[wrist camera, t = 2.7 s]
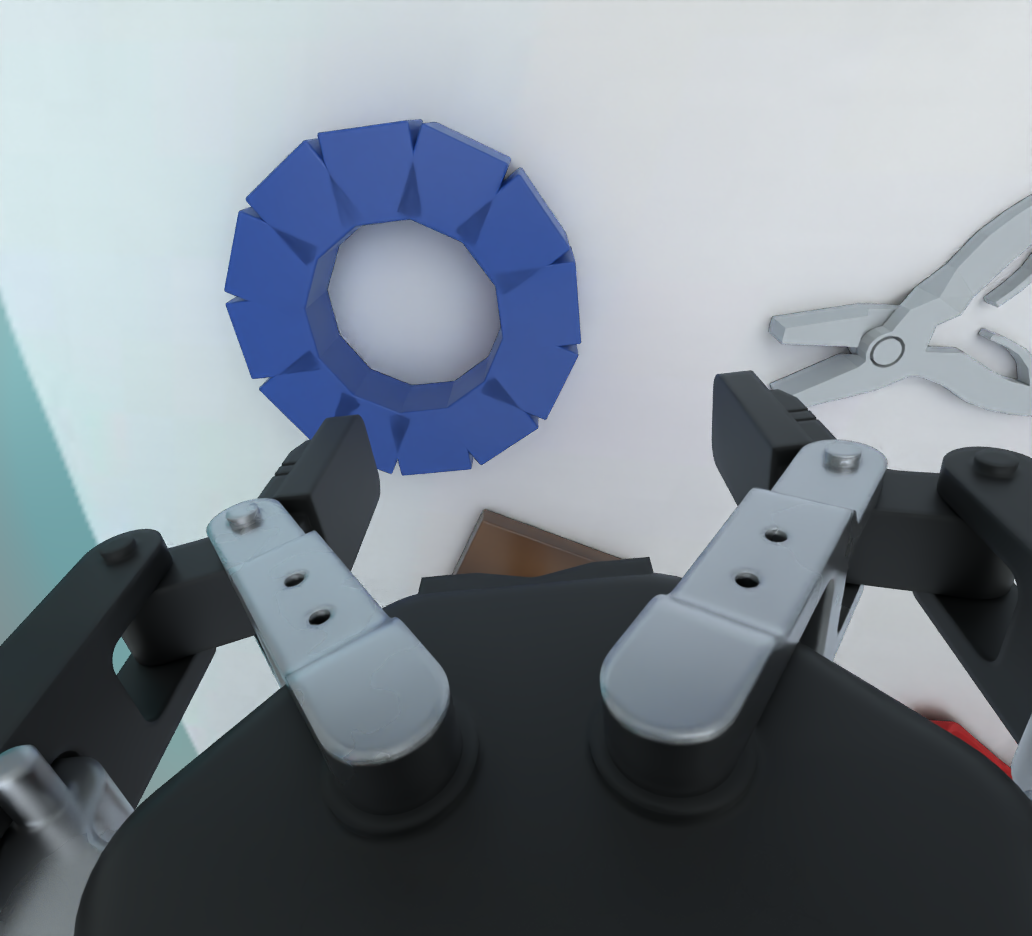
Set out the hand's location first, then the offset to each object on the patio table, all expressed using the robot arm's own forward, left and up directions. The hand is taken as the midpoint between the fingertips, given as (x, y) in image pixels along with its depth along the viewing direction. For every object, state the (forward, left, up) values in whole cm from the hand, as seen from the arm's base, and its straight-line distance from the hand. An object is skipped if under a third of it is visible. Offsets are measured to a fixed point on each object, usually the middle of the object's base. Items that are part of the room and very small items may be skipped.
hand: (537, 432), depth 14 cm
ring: (+2, -4, -12) cm, 13 cm away
